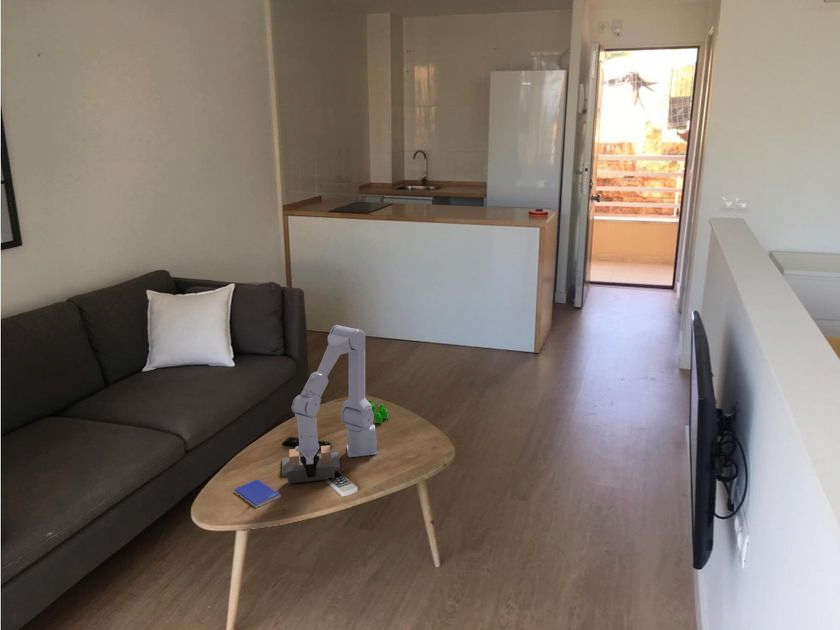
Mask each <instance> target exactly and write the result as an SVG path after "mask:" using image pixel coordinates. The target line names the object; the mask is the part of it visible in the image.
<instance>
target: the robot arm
mask: <svg viewBox="0 0 840 630" xmlns="http://www.w3.org/2000/svg"><path fill="white" fill-rule="evenodd" d="M327 344H328V345H327V347H326V349H325V351H324V354H323V356H322V359H321V361H320V364H319V366H318V368H317V370H316V371H314V372H312V373H311V374H310V376H309V378H308V380H307V381H306V383H305V385H304V387H303V389H302V391H301V393H300V394H299V395H296V396H295V397H294V399H293V400H292V405H291V410H292V412H293V413H294V416H295V419H296V422H297V432H298V433H297V435H298V436H297V437H298V445H297V446H295V449H296V451H299V454H301V455H300V456H301V457H300V461H301V463H302V464H303V465H304V467H305V470H306V473H307V476H308V478H311V477H315V474H316V466H317V463H318V461H319V456H317V454H319V451H320V444H319V435H318V434H319V433H318V431H319V430H318V421H317V414H318V413H319V411H320V409H321V402H322V398H321V397H322V396H323V394H324V392H325V390H326V387H327V386H328V384H329V378H328V376H329V374H330V372H331V371H332V369H333V367H334V366H335V364H336V363H337V361H338V359H339V358H340V356H342V355H345V354H347V355H348V399H346V400H345V401H344V402H343V403H342V410H341V413H340V419H341V421H342V423H344V425H345V427H346V434H347V435H346V436H347V444H346V451H347V457H348V458H357V457H364V456H365V457H366V456H373V455H374V456H375V455H377V454H378V453H377V452H378V451H377V450H378V449H377V446H378V442H377V431H376V425H375V424H374V421H375V418H374V415H375V413H373V411H372V405H371V404H370V403H369V402H368V401H369V400H368V399H367V398H366V332H364V331H363V330H362V329H360V328H353V327H347V326H344V325H343V326H342V325H340V324H335V325H333V326H332V327H331V329H330V331H329V333H328V336H327Z"/></svg>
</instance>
